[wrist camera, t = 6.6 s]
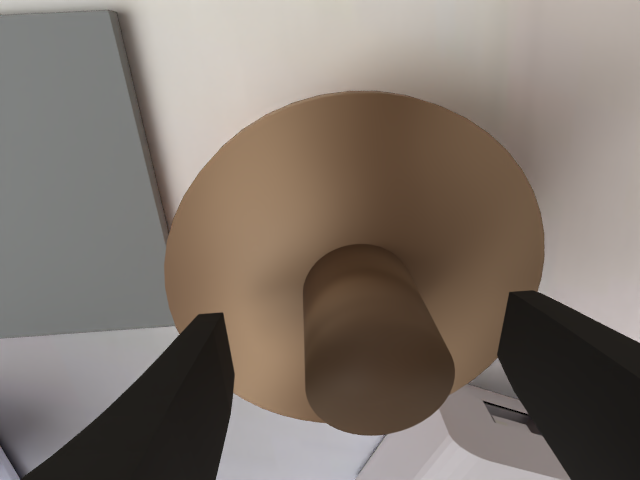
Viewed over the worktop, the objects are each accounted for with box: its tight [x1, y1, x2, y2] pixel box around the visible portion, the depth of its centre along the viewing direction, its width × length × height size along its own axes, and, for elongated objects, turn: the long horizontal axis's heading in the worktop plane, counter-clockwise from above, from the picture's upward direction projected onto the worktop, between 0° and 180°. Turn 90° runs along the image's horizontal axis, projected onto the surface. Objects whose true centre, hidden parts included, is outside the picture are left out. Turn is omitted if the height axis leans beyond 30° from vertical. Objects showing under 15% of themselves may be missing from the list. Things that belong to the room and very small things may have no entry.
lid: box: [164, 91, 544, 436], centre depth 10 cm, size 11×11×4 cm
